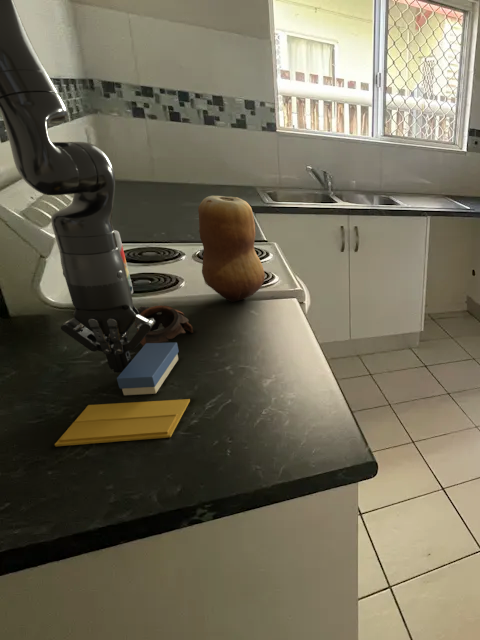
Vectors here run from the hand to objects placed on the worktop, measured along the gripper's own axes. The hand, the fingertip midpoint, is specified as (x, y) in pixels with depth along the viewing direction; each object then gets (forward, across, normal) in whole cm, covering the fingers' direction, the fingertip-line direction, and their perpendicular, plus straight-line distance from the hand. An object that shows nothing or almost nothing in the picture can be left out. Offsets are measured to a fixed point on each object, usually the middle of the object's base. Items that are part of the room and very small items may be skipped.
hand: (121, 370), depth 83 cm
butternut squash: (+2, -10, -39) cm, 40 cm away
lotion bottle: (+2, +16, -42) cm, 45 cm away
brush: (+2, -4, 0) cm, 5 cm away
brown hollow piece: (+2, -2, -16) cm, 16 cm away
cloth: (+2, -6, +14) cm, 15 cm away
